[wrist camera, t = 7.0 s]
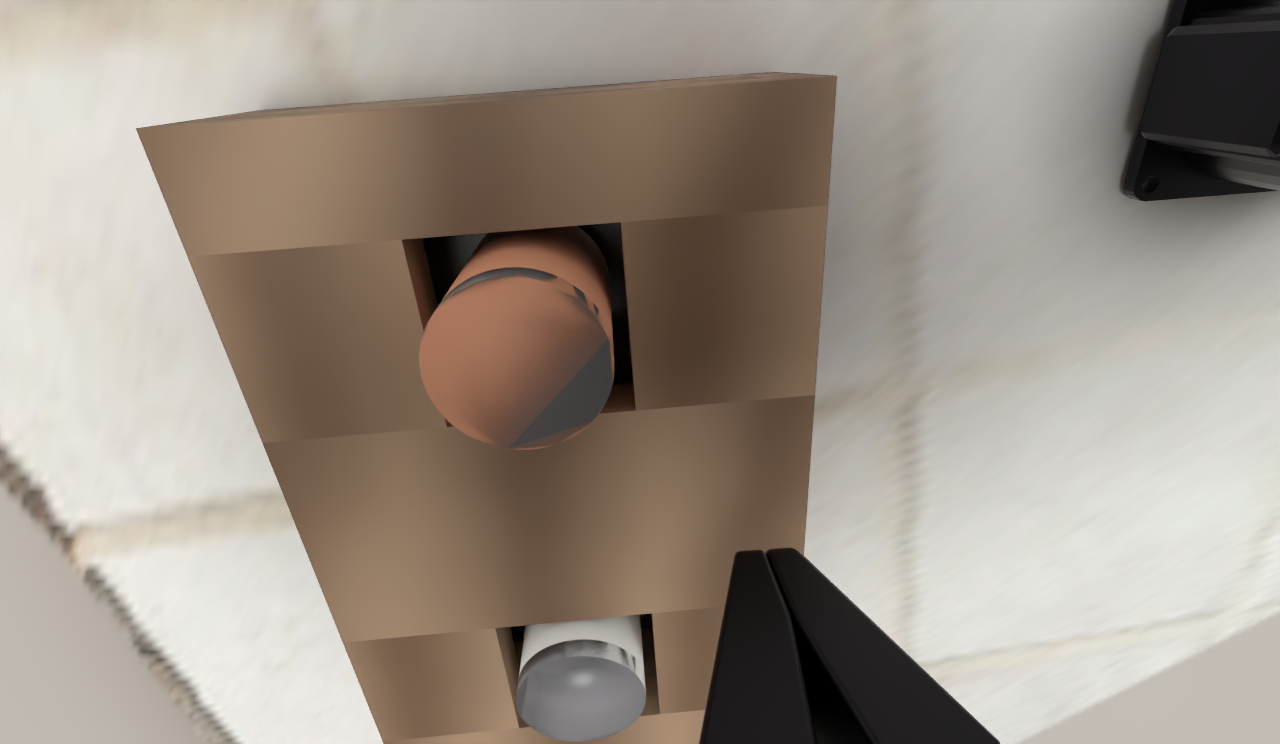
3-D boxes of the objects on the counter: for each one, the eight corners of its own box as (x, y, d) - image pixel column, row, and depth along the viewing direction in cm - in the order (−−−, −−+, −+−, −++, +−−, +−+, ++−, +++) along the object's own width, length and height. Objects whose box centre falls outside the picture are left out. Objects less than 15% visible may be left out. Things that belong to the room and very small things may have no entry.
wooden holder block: (774, 72, 17) (836, 76, 13) (758, 634, 27) (790, 748, 23) (259, 110, 17) (136, 128, 12) (434, 665, 27) (401, 786, 22)
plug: (632, 525, 23) (642, 650, 18) (639, 603, 25) (649, 735, 20) (525, 535, 23) (506, 663, 18) (540, 612, 25) (526, 747, 20)
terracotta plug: (603, 208, 17) (604, 268, 12) (615, 341, 19) (621, 441, 14) (456, 220, 17) (398, 285, 12) (482, 353, 19) (441, 457, 14)
